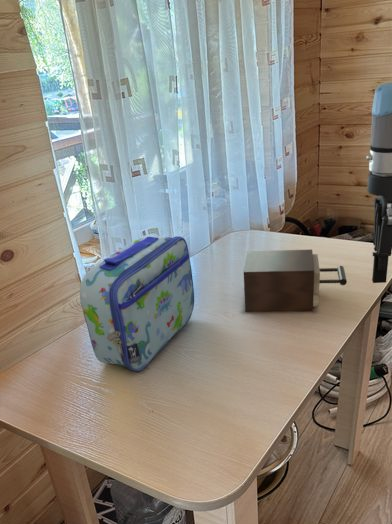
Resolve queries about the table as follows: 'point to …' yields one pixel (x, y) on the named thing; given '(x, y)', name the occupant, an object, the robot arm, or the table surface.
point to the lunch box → (138, 300)
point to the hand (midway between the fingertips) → (379, 281)
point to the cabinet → (279, 281)
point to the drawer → (317, 280)
